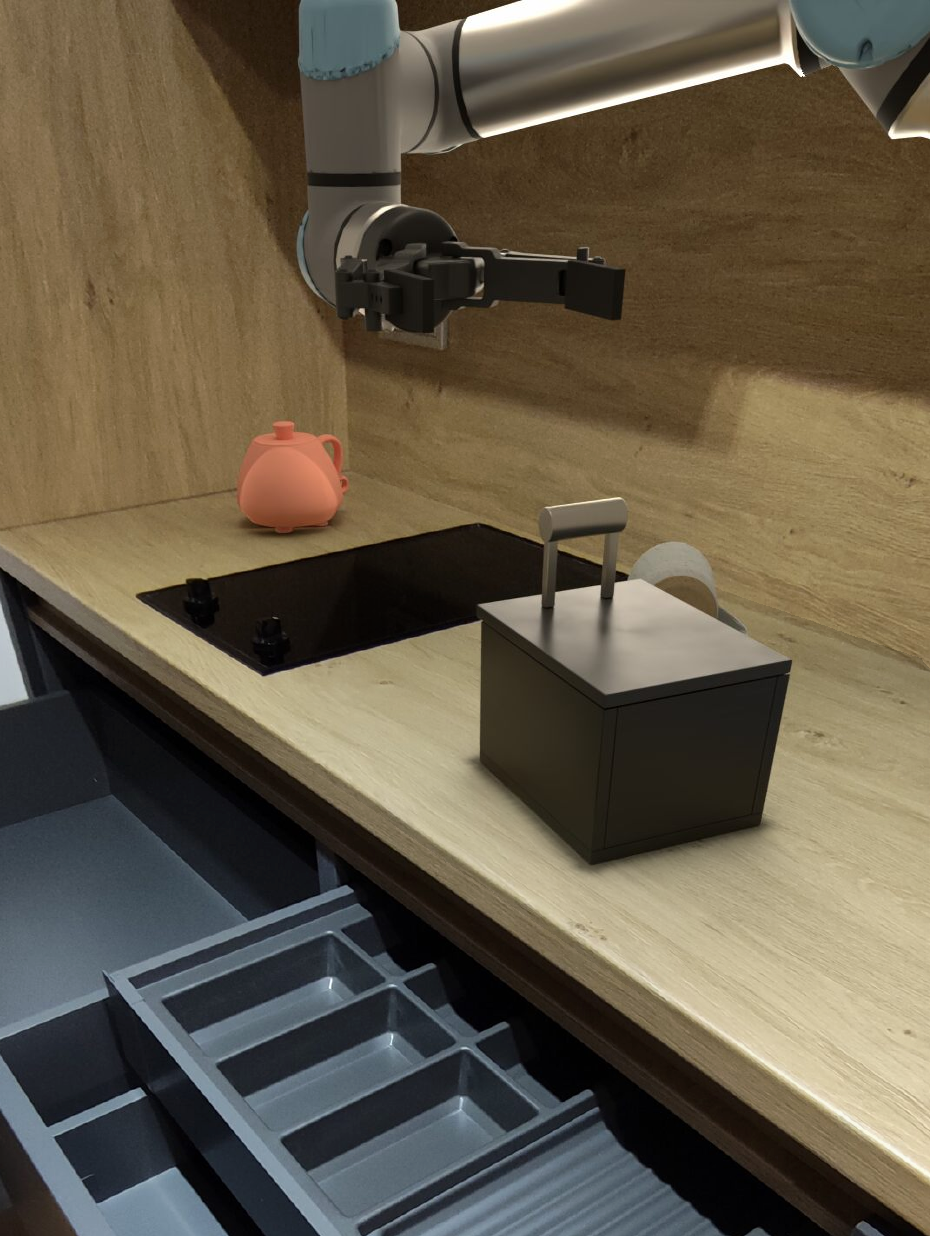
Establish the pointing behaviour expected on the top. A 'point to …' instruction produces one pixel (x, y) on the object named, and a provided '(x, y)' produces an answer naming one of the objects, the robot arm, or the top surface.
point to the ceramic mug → (684, 579)
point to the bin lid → (622, 625)
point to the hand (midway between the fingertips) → (526, 300)
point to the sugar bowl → (291, 479)
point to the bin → (626, 755)
